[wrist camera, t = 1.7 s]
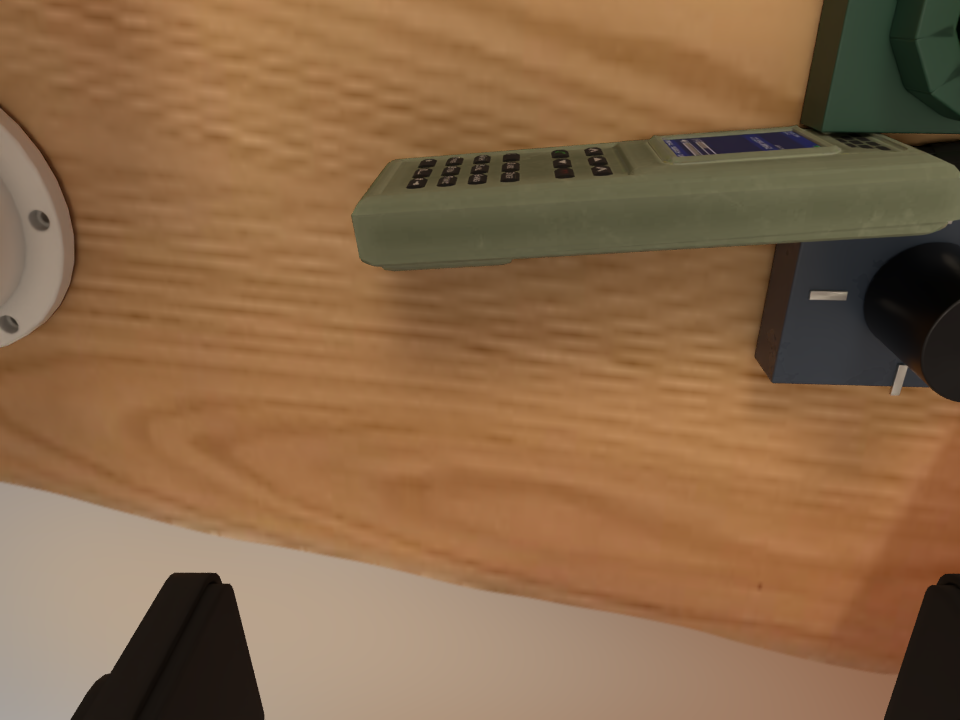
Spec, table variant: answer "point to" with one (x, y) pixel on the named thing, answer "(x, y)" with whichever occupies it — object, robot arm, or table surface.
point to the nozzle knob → (921, 313)
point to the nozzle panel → (832, 313)
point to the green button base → (886, 68)
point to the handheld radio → (654, 197)
